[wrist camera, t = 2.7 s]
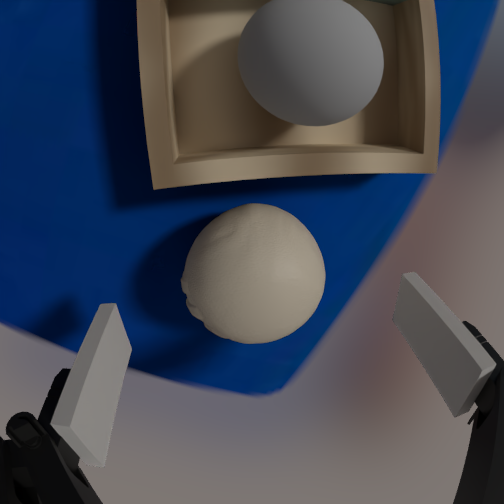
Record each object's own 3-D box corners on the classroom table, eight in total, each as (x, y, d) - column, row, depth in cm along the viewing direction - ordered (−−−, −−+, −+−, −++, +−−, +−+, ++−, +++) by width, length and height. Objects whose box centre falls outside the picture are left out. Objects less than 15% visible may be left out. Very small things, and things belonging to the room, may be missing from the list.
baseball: (161, 241, 18) (139, 310, 12) (264, 165, 17) (291, 204, 11) (230, 313, 21) (237, 392, 15) (323, 253, 20) (365, 319, 14)
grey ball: (237, 123, 15) (249, 137, 10) (230, 12, 12) (238, -33, 7) (350, 121, 15) (412, 136, 10) (346, 16, 13) (405, -12, 7)
